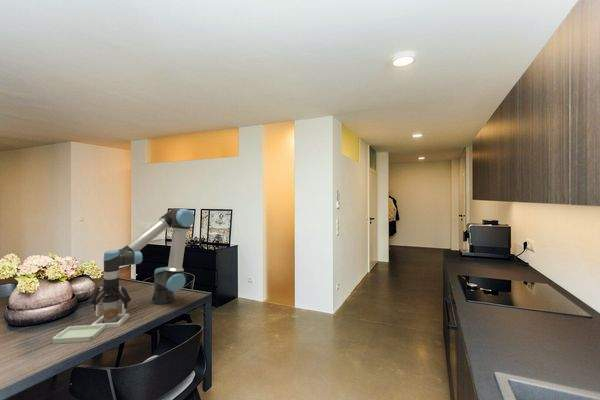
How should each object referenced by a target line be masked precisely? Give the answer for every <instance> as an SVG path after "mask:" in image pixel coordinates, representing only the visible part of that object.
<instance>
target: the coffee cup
mask: <svg viewBox="0 0 600 400" xmlns="http://www.w3.org/2000/svg"><path fill="white" fill-rule="evenodd" d="M119 306H120V299H119V297H118V296H117V295H115V294H113V295H111V294H110V295H107V294H106V295H105V296H104V297H103V298H102V312H103V315H104V320H103V323H117V322H118V321H119V320H118V319H119V318H118V314H119V309H120V307H119ZM103 315H102V316H103Z"/></svg>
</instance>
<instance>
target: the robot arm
mask: <svg viewBox="0 0 600 400" xmlns="http://www.w3.org/2000/svg"><path fill="white" fill-rule="evenodd" d="M194 223H195V215H194V213H193V212H192V211H191V210H190V209H186V208H173V209H170V210H169V211H168V212H166V213H165V214H163V215H162V216H161V217H159V218H158V221H157V222H155V223H154V224H153V225H151V226H150V227H149V228H147V229H145V231H144V232H142V233H141V234H140V235H138V236H136V238H134V239H133V240H132V241H131V242H129V243H128V244H127V245H125V246H124V247H122V248H118V249H116V250H115V249H114V250H106V251H105V252H104V254H103V276H102V278H103V281H102V282H103V284H102V285H103V286H102V285H99V286H98V287H97V288H96V291H95V293H94V295H93V297H92V299H91V301H90V304H91V305H93V310H94V311H95V317H96V318H97V317H98V316H100V313H101V303H100V301H101V300H103V298H104V297H105V296H107V295H113V294H115V295H117V296H118V297H119V299H120V300H121V302H122V305H121V309H122V310H121V314H122V315H124V314H127V311H126V310H127V309H128V303H130V302H131V301H132V298H131V297H130V295H129V293H128V291H127V289H126V285H122V286H121V285H120V267H124V266H125V267H127V266H133V265H139V264H141V263H142V262H143V254H142V252H141V250H142V249H144V247H146V246H147V245H148V244H150V243H151V242H152V241H153V240H154V239H156V238H157V237H159V236H160V235H161V234H162V233H163V232H164V231H166V230H169V229H170V228H171V229H172V237H171V238H172V239H171V245H170V252H169V257H168V266H163V267H157V268H156V269H155V270H154V274H153V277H154V283H153V286H154V290H153V293H152V296H151V299H150V300H151V301H150V302H151V304H153V305H166V304H171V303H173V302H175V301H176V295H175V292H177V291H180V290H181V289H182V288H184V286H185V284H186V279H187V278H186V277H185V274H184V273H185V269H184V268H183V263H184V254H185V248H186V242H187V241H186V240H187V236H188V235H187V233H188V231H190V230H191V226H192V225H193V224H194ZM102 291H103V293H102V294H101V295H100V293H101V292H102ZM99 295H100V296H99ZM98 296H99V297H98ZM120 300H119V301H120Z"/></svg>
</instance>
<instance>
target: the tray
mask: <svg viewBox="0 0 600 400" xmlns="http://www.w3.org/2000/svg"><path fill="white" fill-rule="evenodd" d="M106 329H107V328H106V324H102V325H91V324H88V325H85V324H83V325H73V326H71V325H70V326H67V327H66V328H65V329H63V330H62V331H60V332H59V333H57V334H56V335H54V336H53V337H52V338H50V345H56V344H69V343H84V342H86V343H88V342H93V341H94V340H95V339H96V338H98V337H99V336H100V334H102V333H103V332H104V331H105V330H106Z"/></svg>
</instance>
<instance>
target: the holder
mask: <svg viewBox="0 0 600 400" xmlns="http://www.w3.org/2000/svg"><path fill="white" fill-rule="evenodd" d="M129 318H130V313H125V314H124V315H122V313H118V319H119V320H117V322H116V323H104V315H102V316H100V317H99V318H98V319H96V320H95V321H94V322H92V323H91V324H90V325H102V324H106V329H107V328H108V329H110V328H119V327H121V326H122V325H123V323H124V322H126V321H127V320H128V319H129Z"/></svg>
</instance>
